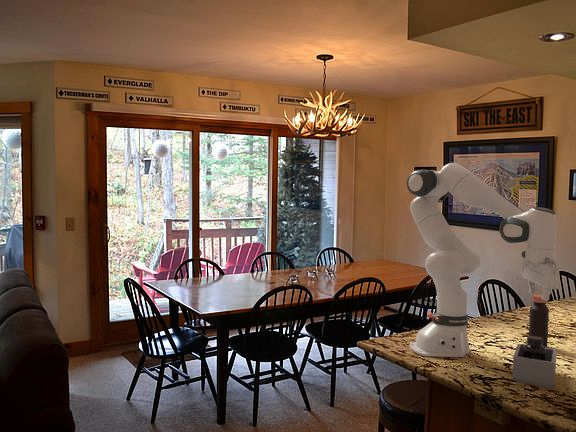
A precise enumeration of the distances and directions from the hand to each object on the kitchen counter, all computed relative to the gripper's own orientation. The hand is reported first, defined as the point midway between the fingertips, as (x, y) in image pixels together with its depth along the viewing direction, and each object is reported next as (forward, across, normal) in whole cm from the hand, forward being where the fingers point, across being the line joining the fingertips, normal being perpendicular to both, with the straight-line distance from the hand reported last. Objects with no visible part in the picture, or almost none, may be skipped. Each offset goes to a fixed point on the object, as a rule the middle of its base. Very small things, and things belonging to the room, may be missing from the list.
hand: (538, 296), depth 173 cm
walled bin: (+26, -3, +1) cm, 27 cm away
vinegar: (+27, +30, -15) cm, 43 cm away
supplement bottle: (+25, -3, +2) cm, 26 cm away
